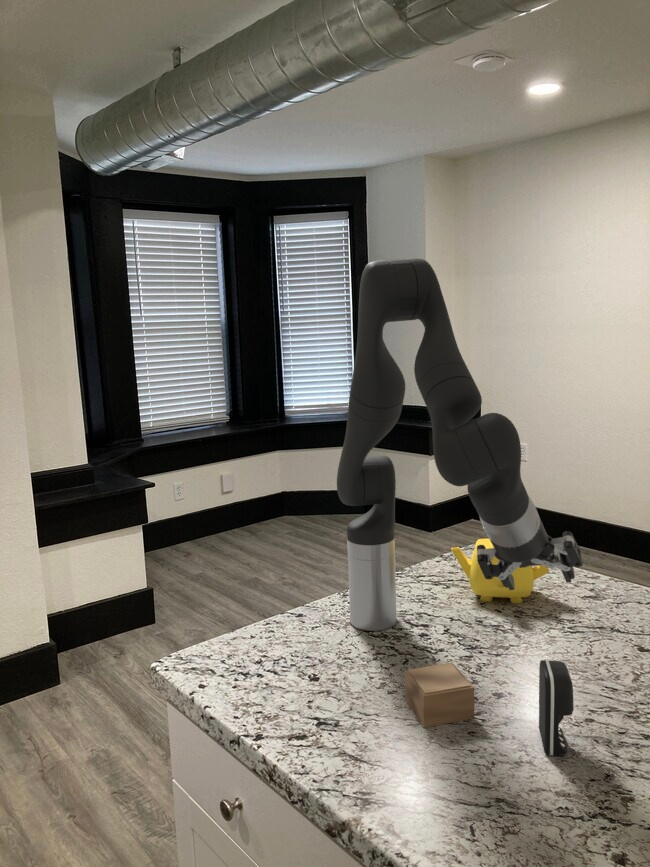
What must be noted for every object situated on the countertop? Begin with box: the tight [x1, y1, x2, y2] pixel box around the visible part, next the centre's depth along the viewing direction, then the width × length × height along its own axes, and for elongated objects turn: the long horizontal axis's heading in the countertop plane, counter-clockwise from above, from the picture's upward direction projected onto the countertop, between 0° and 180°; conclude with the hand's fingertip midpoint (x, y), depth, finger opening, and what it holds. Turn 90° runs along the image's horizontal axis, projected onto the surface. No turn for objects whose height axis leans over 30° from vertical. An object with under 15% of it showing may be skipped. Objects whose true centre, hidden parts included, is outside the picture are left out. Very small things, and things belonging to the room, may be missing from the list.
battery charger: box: [538, 659, 575, 757], centre depth 98 cm, size 7×4×11 cm, turn 171°
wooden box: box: [404, 662, 475, 728], centre depth 108 cm, size 8×8×5 cm
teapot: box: [451, 538, 550, 604], centre depth 148 cm, size 20×19×13 cm
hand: (539, 581), depth 108 cm, fingers open, 8 cm apart
